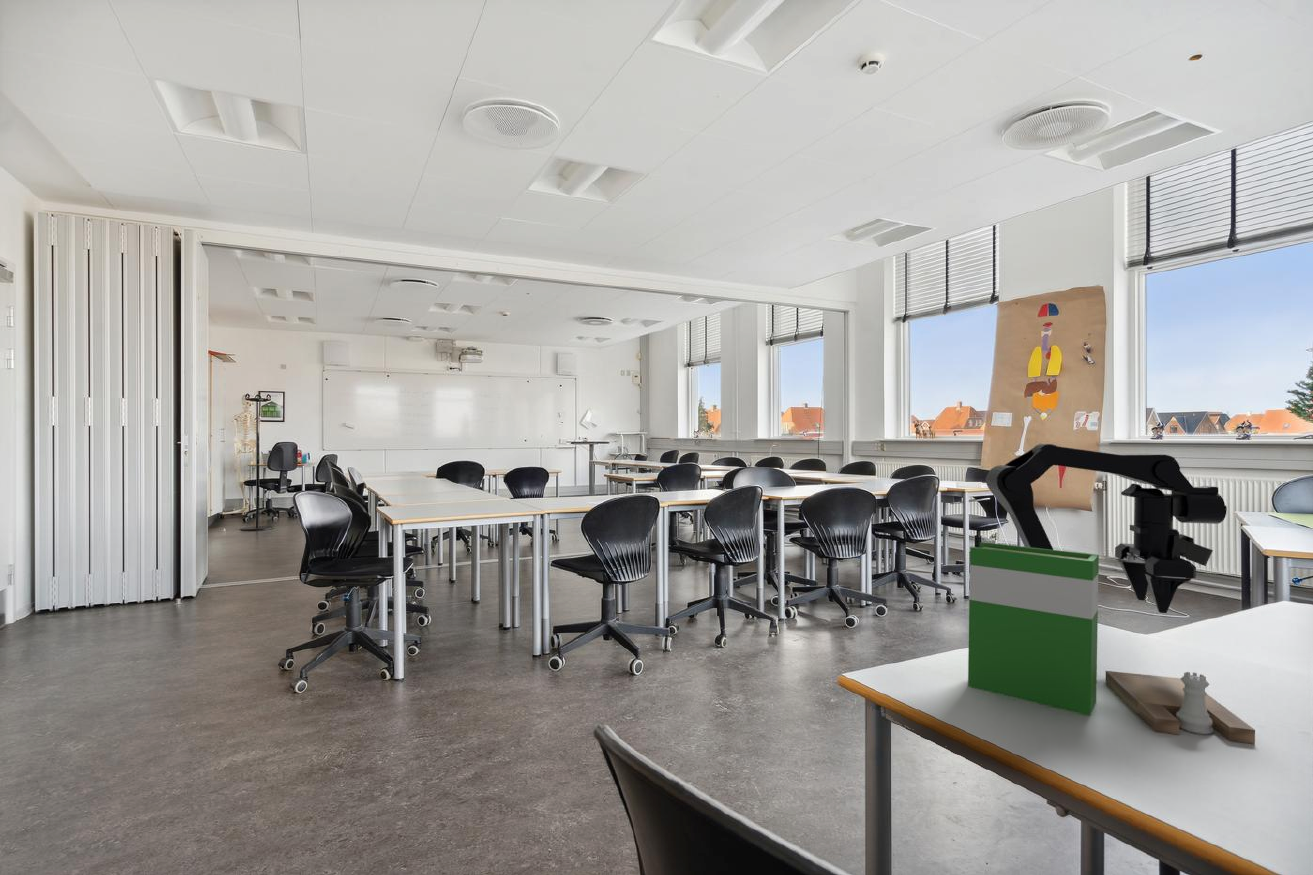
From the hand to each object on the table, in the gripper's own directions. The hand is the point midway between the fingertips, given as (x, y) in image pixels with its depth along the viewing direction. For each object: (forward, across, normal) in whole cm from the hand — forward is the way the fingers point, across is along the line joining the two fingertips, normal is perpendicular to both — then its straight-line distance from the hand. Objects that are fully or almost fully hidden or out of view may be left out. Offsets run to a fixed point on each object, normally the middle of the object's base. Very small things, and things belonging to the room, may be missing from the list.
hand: (1151, 606), depth 121 cm
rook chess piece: (+12, -26, +4) cm, 29 cm away
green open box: (+12, -19, +24) cm, 33 cm away
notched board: (+12, -19, +4) cm, 23 cm away
